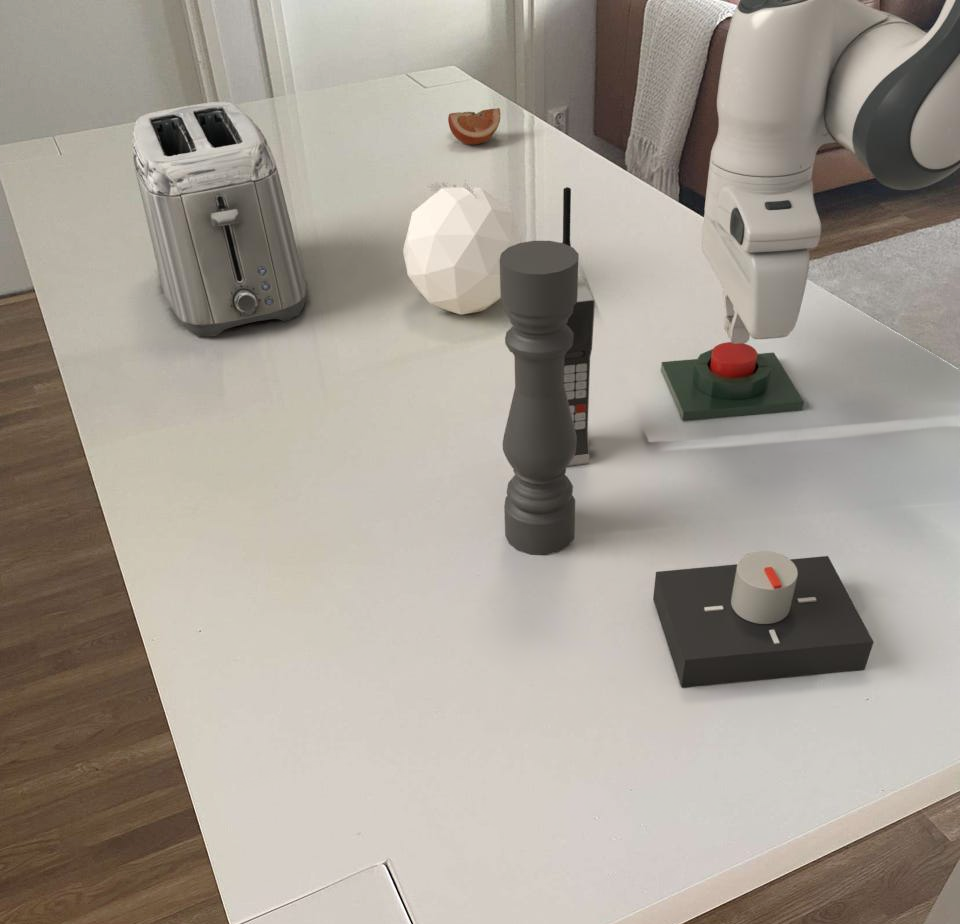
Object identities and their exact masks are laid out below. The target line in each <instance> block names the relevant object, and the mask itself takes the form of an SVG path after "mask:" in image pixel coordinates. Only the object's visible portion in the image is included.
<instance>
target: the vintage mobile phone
mask: <svg viewBox="0 0 960 924" xmlns="http://www.w3.org/2000/svg"><path fill="white" fill-rule="evenodd" d="M562 192H563V194H562V195H563V196H562V200H563V201H562V242H561V243H564V244H566V245H568V246H570V247H572V245H571V214H572V213H571V211H572V210H571V209H572V208H571V203H572V188H570V187H567V186H566V187H564V188H563V191H562ZM595 309H596V301H595V298H594V297H593V295H592V293H591V291H590V289H589V287H588V285H587V284H586V282H585V280H584V278H583V276H582V275H578V296H577V303H576V304H575V305H574V307H573V313H572V315H571V316H570V317H569V318H568V322H567V324H566V325H567V326H568V327H569V328H570V329H571V330H572V332H573V333H574V336H573V345H572V347H571V348H570V349H569V350H568V351H567V352H566V354H565V355H564V387H565V391H566V395H567V399H568V403H569V407H570V412H571V416H572V420H573V424H574V428H575V432H576V436H577V444H576V452H575V455H574V458H573V459H572V461H571V462H570V464H569V465H568V466H567V467H571V466H572V467H573V466H581V465H587V464H588V463H590V444H589V407H590V406H589V405H590V404H589V403H590V380H591V379H590V376H591V375H590V374H591V356H592V352H593V350H592V349H593V340H594V324H595Z"/></svg>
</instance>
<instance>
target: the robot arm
mask: <svg viewBox="0 0 960 924" xmlns="http://www.w3.org/2000/svg"><path fill="white" fill-rule="evenodd" d="M937 17H938V18H937V19H936V21H935V22H934V25H933V26H932V27H931V28H930V29H929V30H928V31H927V32H926V31H924V30H922V29H921V28H920V27H919V26H917V25H916V24H913V23H911V22H909V21H907V20H905V19H903V18H901V17H899V16H897V15H895V14H892V13H890V12H887V11H883V10H880V9H876V8H874V7H871V6H869V5H867V4H866V3H864V2H861V1H859V0H739V1H738V3H737V5H736V7H735V9H734V12H733V14H732V17H731V20H730V23H729V27H728V31H727V36H726V40H725V44H724V49H723V55H722V61H721V67H720V72H719V73H720V74H719V79H718V86H717V93H716V112H717V117H718V125H717V126H718V128H717V135H716V137H715V139H714V141H713V145H712V148H711V151H710V155H709V156H710V158H709V165H708V166H709V167H708V173H707V181H706V182H707V183H706V193H705V202H704V214H703V220H702V227H701V233H700V235H701V236H700V243H701V244H700V245H701V251H702V253H703V255H704V257H705V259H706V260H707V262H708V264H709V266H710V267H711V269H712V271H713V272H714V274H715V276H716V278H717V280H718V282H719V283H720V285H721V287H722V289H723V291H722V296H723V307H724V308H723V309H724V320H723V329H724V331H725V332H726V335H727V336H728V338H729V341H730V342H732V343H733V344H741V343H744V344H747V343H748V342H749V341H750V337H751V338H752V339H753V340H769V339H770V340H771V339H781V338H782V339H783V338H786V337H788V336H789V335H790V334H791V333H792V332H793V330H794V329H795V328H796V325H797V323H798V319H799V315H800V311H801V307H802V303H803V300H804V295H805V290H806V288H807V287H806V286H807V282H808V277H809V272H810V271H809V270H810V251H809V249H813V248H817V246H818V245H819V242H820V238H821V233H822V223H821V219H820V216H819V213H818V210H817V207H816V203H815V198H814V183H813V180H812V176H813V171H814V165H815V161H816V155H817V152H818V150H819V149H820V147H822V146H823V145H825V144H836V143H838V144H839V145H840V146H842V147H843V148H845V149H846V150H847V151H849V153H851V154H853V155H854V156H855V157H856V158H857V159H858V161H859V162H860V163H861V164H862V165H863V166H864V167H865V169H866V170H868V172H870V174H871V176H873V177H874V178H875V179H876V181H878V182H879V183H880V184H882V185H883V186H885V187H887V188H890V189H892V190H898V191H913V190H918V189H923V188H925V187H928V186H932V185H934V184H935V183H938V182H939V181H942V180H943V179H945V178H947V177H949V176H950V175H951V174H953V173H954V172H955V171H957V170H958V169H959V168H960V0H945V2H944V4H943V6H942V9H941V11H940V13H939V16H937Z"/></svg>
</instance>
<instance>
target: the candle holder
mask: <svg viewBox="0 0 960 924" xmlns="http://www.w3.org/2000/svg"><path fill="white" fill-rule="evenodd" d="M579 254H580V253H578V251H577V250H576V249H575V248H574V247H572V246H571V247H570V246H568V245H566V244H564V243H562V242H559V241H553V240H529V241H522V243H519V244H516V245H513V246H511V247H508V248H507V249H506V250H505V251H503V252H502V253H501V256H500V290H501V298H500V303H501V304H502V306H503V307H504V312H505V314H506V316H507V317H508V319H509V321H510V324H511V327H510V328H509V329H508V330H507V331H506V332H505V337H504V344H505V347H506V348H507V349H508V351H509V352H510V353H512V355H513V357H514V390H513V394H512V397H511V398H512V399H511V403H510V408H509V411H508V416H507V421H506V425H505V429H504V433H503V439H502V451H503V454H504V456H505V459H506V460H507V462H508V464H509V465H510V467H511V468H512V469H513V471H512V472H513V473H514V475H513V476H512V478H511V479H510V480H509V481H508V483H507V486H506V487H507V488H506V496H505V500H504V504H503V505H504V506H503V508H504V509H503V511H504V536H505V538H506V541H507V543H508V544H509V545H510V546H511V547H512V548H514V549H515V550H516V551H518V552H522V553H525V554H527V555H533V556H547V555H550V554H556V553H559V552H560V551H562V550H564V549H566V548H567V547H569V546H570V544H571V543H572V542H573V541H574V540H575V531H576V498H575V497H574V495H573V492H574V485H573V483H572V482H571V480H570V478H569V477H568V476H567V475H566V472H567V467H569V466H568V465H569V464H570V462H571V461H572V459H573V458H574V455H575V452H576V444H577V436H576V432H575V428H574V424H573V420H572V416H571V412H570V407H569V403H568V399H567V395H566V391H565V387H564V355H565V354H566V352H567V351H568V350H569V349H570V348H571V347H572V345H573V336H574V333H573V332H572V330H571V329H570V328H569V327H568V326H567V325H566V324H567V322H568V318H569V317H570V316H571V315H572V313H573V307H574V305H575V304H576V303H577V296H578V276H579Z"/></svg>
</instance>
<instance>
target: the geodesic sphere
mask: <svg viewBox="0 0 960 924" xmlns="http://www.w3.org/2000/svg"><path fill="white" fill-rule="evenodd" d="M427 188H428V189H429V191H431V192H432V193H433V195H431V197H429V198H427V200H426V201H424V202H423V203H422V204H421V205H419V206H418V207H417V208H416V209H415V210H414V211H412V212H411V216H410V220H409V224H408V229H407V232H406V236H405V240H404V244H403V249H402V253H403V254H402V255H403V259H404V263H405V268H406V273H407V276H408V278H409V279H410V281H411V282H412V284H413V285H414V287H415V288H416V289H417V290H418V291H419V293H420V294H421V295H422V296H423V297H424V299H426V300H427V302H428V303H429V304H431V305H434V306H435V307H438V308H441V309H443V310H445V311H448V312H451V313H454V314H457V315H462V316H463V315H468V314H473V313H479V312H484V311H485V310H487V309H488V308H489V307H491V306H492V305H493V304H495V303H497V302H498V301H499V300H501V290H500V256H501V253H502V252H503V251H505V250H506V249H507V248H508V247H511V246H513V245H516V244H519V243H523V239H522V237H521V233H520V229H519V226H518V223H517V221H516V218H515V214H514V212H513V211H512V210H511V209H509V208H508V207H507V206H506V205H504V203H502V202H500V201H499V199H497V198H496V197H494V195H492V194H491V193H489V192H487V191H486V190H485V189H483V188H482V187H475V186H473V187H472V186H470V184H469V183H467V181H466V180H464V182H463V186H458V185H457V184H452V186H451V184H450V183H449V182H447V183H445V182H443V181H441V184H440V183H439V182H435V181H434V183H430V185H427Z"/></svg>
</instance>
